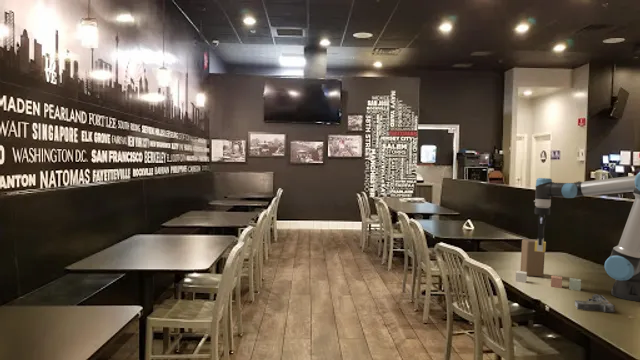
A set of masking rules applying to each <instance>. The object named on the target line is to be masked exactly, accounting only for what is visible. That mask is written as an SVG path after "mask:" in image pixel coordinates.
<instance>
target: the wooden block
mask: <svg viewBox="0 0 640 360" xmlns="http://www.w3.org/2000/svg"><path fill="white" fill-rule="evenodd" d="M537 240H538V239H536V238H535V239H531V238H522V240H521V254H520V256H521V257H520V270H519V271H523V272H527V277H539V278H542V277H544V273H545V272H544V269H545V253H546V251H545V252H537V251H535V241H537Z"/></svg>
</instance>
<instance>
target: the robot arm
mask: <svg viewBox="0 0 640 360" xmlns="http://www.w3.org/2000/svg"><path fill="white" fill-rule="evenodd" d="M630 192H631V193H632V194H633V196H634V198H635V199H634V200H633V204H632V206H631V209H630V212H629V215H628V217H627V220H626V223H625V226H624V228H623V231H622V233H621V236H620V239H619V242H618V244H617V245H616V246H614V247H613V248H612V250H611V252H610V253H611V254H610V256H609V257H608V258H607V259H606V260H605V262H604V265H603V266H604V270H605V272H606V274H607V276H609V277H610V278H612V280H613V279H614V280H615V281H614V282H613V285H612V288H611V293H610V294H611V295H612V296H613V297H616V298H619V299H623V300H628V301H634V302H640V171H639V172H638V173H637V174H636V175H629V176H628V175H627V176H622V177H611V178H604V179H602V178H601V179H596V180H586V181H577V182H553V179H552V178H549V177H547V178H546V177H538V178H536V181H535V195H534V197H535V198H534V199H535V200H533V203H534V206H535V207H534V214H535V215H539V216H538V217H537V226H538V228H537V237H535V239H536V240H537V251H542V252H543V242H545V238H546V235H545V226H546V222H547V218H546V216H550V215H551V205H552V204H551V203H552V197H553V198H554V197H555V198H565V199H574V198H579V197H588V196H596V195H609V194H618V193H619V194H620V193H621V194H622V193H630Z"/></svg>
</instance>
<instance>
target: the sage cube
mask: <svg viewBox="0 0 640 360" xmlns="http://www.w3.org/2000/svg"><path fill="white" fill-rule="evenodd" d="M568 283H569V284H568V288H569V289H568V290H571V291H577V290H578V291H579V292H581V289H582V287H581V285H582V279H581V278H572V277H569V282H568Z"/></svg>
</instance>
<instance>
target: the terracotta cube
mask: <svg viewBox="0 0 640 360" xmlns="http://www.w3.org/2000/svg"><path fill="white" fill-rule="evenodd" d="M550 277H551V279H550V287H551V288H558V289H562V288H563V287H562V286H563V276H560V275H551V276H550Z"/></svg>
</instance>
